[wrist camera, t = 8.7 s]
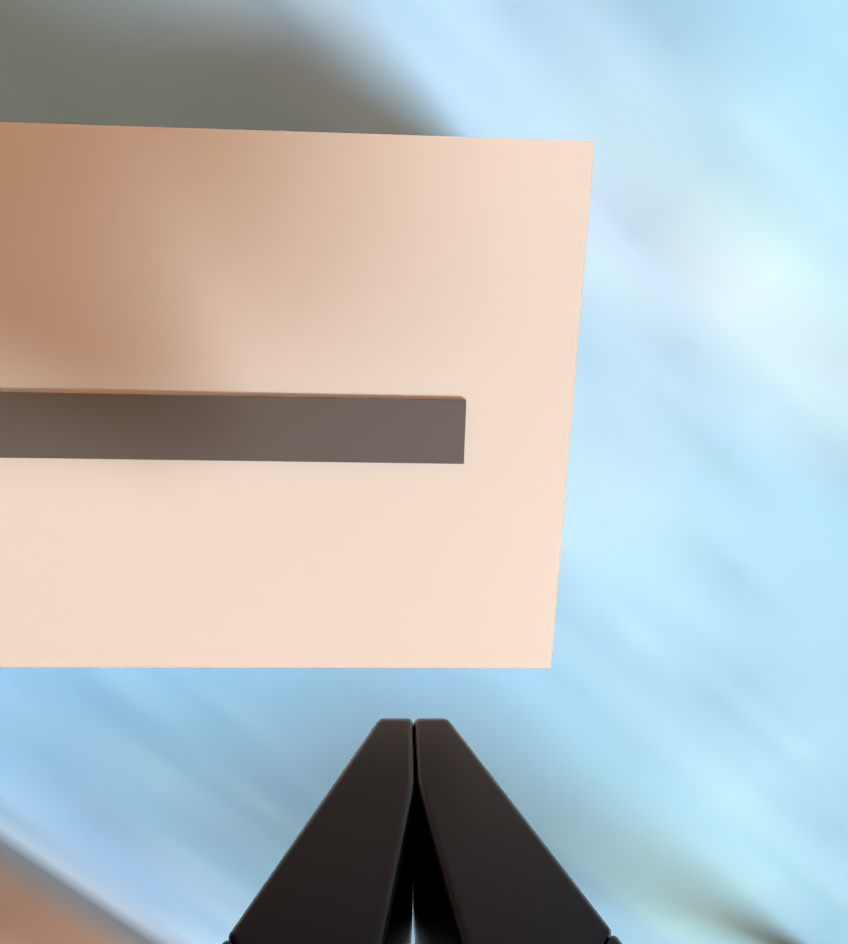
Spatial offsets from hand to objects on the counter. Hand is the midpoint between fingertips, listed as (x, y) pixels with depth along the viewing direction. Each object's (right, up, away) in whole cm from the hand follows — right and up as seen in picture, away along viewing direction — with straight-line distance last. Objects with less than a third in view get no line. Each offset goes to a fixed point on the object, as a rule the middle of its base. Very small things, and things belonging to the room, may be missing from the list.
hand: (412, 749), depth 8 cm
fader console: (-8, +6, +10) cm, 15 cm away
